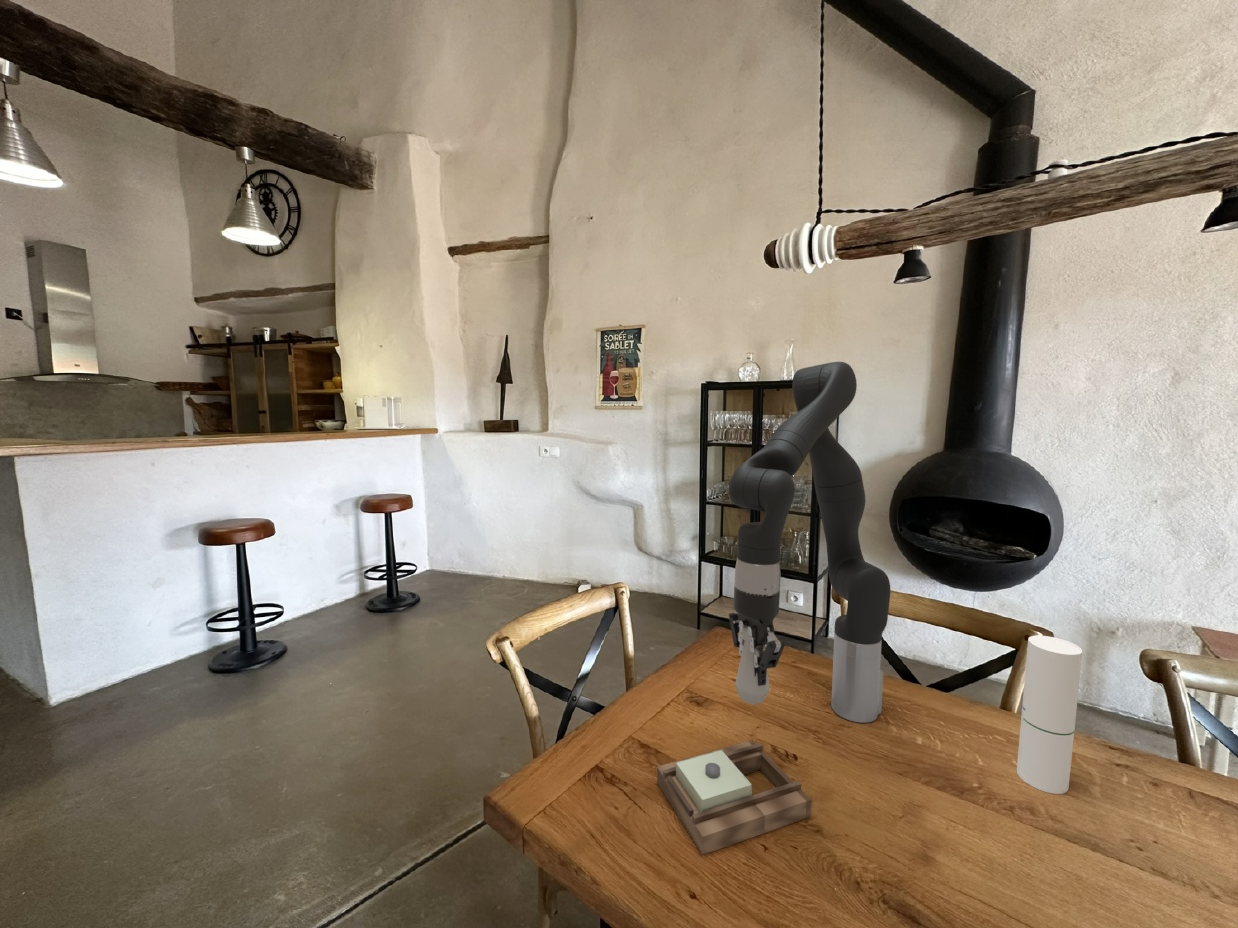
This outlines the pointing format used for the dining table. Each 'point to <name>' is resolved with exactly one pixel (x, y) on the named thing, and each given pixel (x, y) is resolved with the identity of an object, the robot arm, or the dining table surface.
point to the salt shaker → (749, 675)
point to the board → (738, 802)
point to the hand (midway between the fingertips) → (752, 680)
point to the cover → (712, 780)
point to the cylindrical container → (1049, 713)
